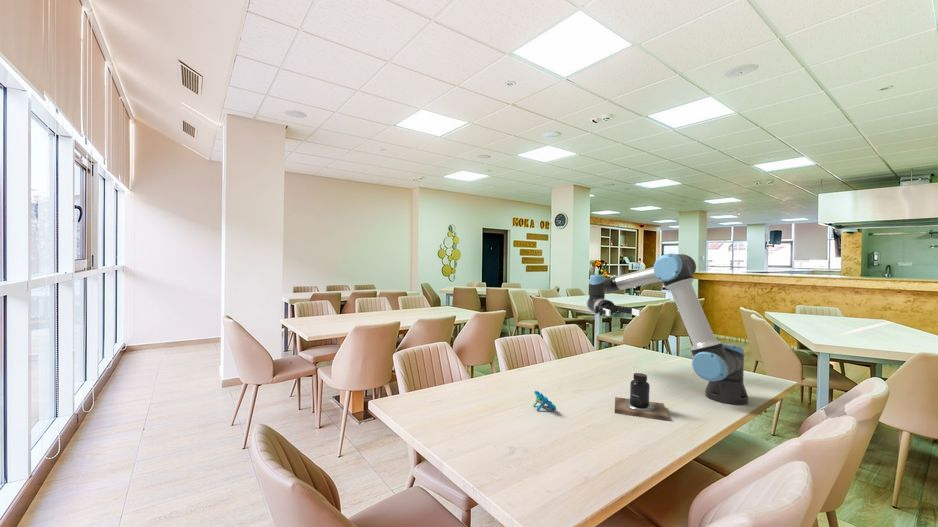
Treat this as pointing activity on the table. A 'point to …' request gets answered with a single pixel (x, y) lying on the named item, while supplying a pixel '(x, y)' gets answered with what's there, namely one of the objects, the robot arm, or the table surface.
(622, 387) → the table surface
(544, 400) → the gear
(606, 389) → the table surface
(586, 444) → the table surface
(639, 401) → the supplement bottle
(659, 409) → the walnut board
